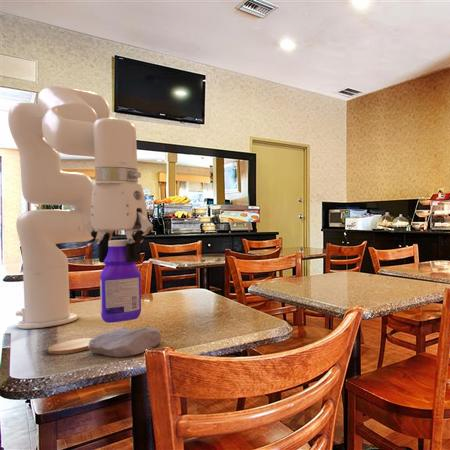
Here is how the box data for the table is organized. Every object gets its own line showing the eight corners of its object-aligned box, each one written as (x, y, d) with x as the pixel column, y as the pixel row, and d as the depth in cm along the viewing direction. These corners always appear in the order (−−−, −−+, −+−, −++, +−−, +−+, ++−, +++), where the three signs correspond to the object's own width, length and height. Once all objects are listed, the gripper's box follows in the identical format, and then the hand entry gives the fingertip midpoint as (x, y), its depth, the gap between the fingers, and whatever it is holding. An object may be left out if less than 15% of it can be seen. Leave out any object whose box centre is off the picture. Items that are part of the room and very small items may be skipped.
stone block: (134, 365, 84) (166, 341, 94) (129, 344, 83) (161, 321, 92) (82, 366, 85) (118, 342, 95) (76, 345, 84) (113, 323, 94)
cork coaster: (36, 353, 87) (36, 350, 87) (75, 340, 96) (75, 337, 96) (73, 354, 86) (73, 351, 86) (109, 341, 95) (109, 338, 95)
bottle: (138, 314, 93) (135, 238, 93) (144, 319, 89) (141, 239, 89) (99, 321, 88) (96, 240, 88) (104, 325, 84) (100, 241, 84)
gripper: (165, 178, 90) (168, 259, 91) (96, 180, 93) (99, 259, 93) (139, 175, 83) (143, 263, 83) (65, 177, 85) (68, 263, 86)
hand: (120, 260), depth 88 cm, fingers closed on bottle, 5 cm apart
